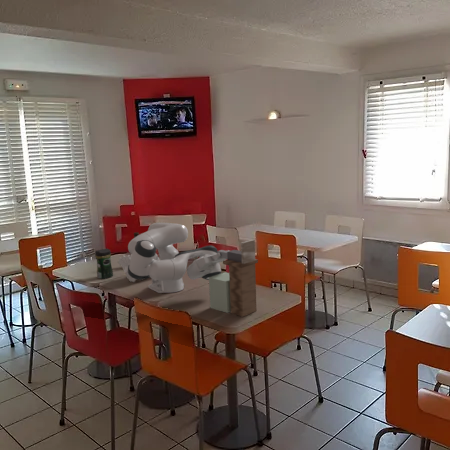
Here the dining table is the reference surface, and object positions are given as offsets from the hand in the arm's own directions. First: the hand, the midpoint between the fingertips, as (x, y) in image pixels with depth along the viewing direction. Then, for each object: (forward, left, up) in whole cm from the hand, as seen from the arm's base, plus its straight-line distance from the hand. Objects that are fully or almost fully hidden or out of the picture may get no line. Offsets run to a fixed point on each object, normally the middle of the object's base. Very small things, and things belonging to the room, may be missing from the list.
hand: (223, 253), depth 231 cm
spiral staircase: (-78, +5, -28) cm, 83 cm away
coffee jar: (-101, -8, -28) cm, 105 cm away
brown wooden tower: (+11, 0, -28) cm, 30 cm away
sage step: (+1, 0, -28) cm, 28 cm away
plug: (+6, 0, -2) cm, 7 cm away
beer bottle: (-106, +22, -28) cm, 112 cm away
